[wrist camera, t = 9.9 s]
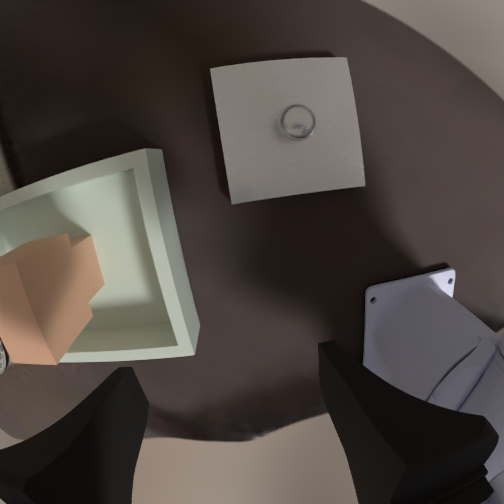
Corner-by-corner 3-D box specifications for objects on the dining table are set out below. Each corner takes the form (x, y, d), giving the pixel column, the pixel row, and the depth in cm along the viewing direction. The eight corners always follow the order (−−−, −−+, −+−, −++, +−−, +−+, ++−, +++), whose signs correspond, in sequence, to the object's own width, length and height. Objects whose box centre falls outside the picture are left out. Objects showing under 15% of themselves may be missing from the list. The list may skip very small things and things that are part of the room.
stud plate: (359, 184, 18) (383, 191, 15) (232, 201, 18) (231, 212, 15) (341, 61, 16) (362, 45, 12) (211, 72, 16) (205, 55, 12)
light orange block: (88, 221, 17) (15, 262, 10) (108, 296, 19) (57, 365, 12) (48, 230, 17) (-26, 271, 10) (70, 300, 19) (13, 362, 12)
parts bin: (200, 325, 21) (194, 355, 17) (38, 338, 21) (18, 361, 17) (161, 149, 17) (145, 148, 14) (-7, 203, 17) (-36, 213, 14)
